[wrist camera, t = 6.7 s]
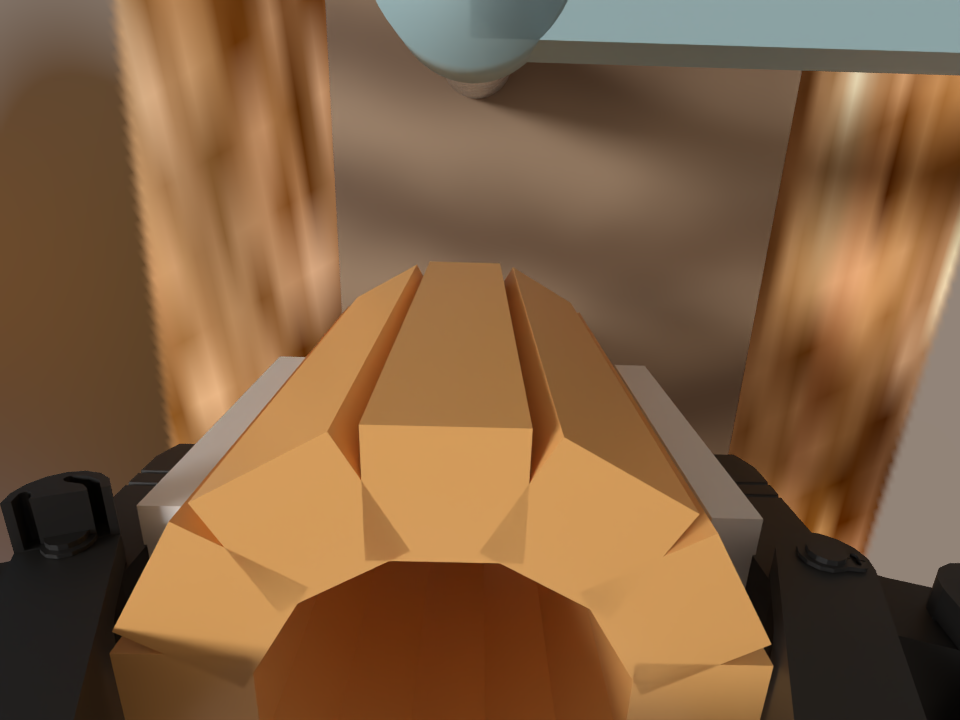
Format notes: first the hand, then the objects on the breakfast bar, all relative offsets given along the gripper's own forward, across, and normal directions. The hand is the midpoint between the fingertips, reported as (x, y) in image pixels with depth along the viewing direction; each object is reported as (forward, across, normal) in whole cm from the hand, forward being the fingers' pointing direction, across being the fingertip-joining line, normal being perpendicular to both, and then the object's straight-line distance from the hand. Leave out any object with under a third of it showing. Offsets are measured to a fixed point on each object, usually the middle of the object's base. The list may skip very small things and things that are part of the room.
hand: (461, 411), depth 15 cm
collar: (0, 0, 0) cm, 0 cm away
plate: (+10, +3, -3) cm, 11 cm away
